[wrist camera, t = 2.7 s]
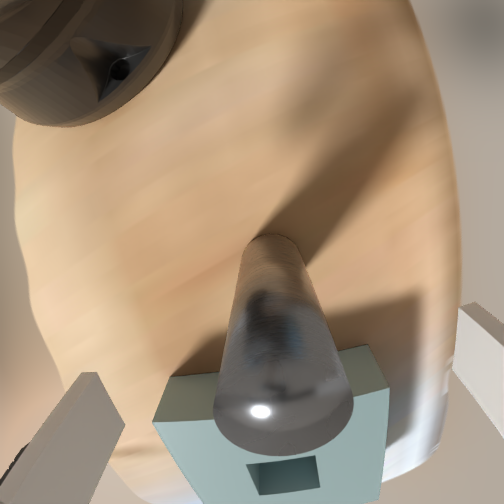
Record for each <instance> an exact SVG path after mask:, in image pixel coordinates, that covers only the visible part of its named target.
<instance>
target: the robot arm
mask: <svg viewBox="0 0 504 504" xmlns="http://www.w3.org/2000/svg"><path fill="white" fill-rule="evenodd" d="M182 12H183V0H0V104H1V105H2V106H4V107H5V108H7V109H8V110H10V111H11V112H12V113H14V114H15V115H17V116H18V117H19V118H21V119H23V120H25V121H27V122H30V123H33V124H37V125H42V126H52V127H75V126H81V125H84V124H88V123H91V122H94V121H96V120H99V119H101V118H103V117H105V116H107V115H109V114H110V113H112V112H114V111H115V110H117V109H118V108H120V107H122V106H123V105H124V104H126V103H127V102H128V101H129V100H131V99H132V98H133V97H134V96H135V95H136V94H137V93H139V92H140V91H141V90H142V89H143V88H144V87H145V86H146V85H147V84H148V82H149V81H150V80H151V79H152V78H153V77H154V75H155V74H156V73H157V71H158V70H159V69H160V67H161V66H162V64H163V63H164V61H165V60H166V58H167V56H168V55H169V53H170V51H171V49H172V47H173V45H174V43H175V40H176V38H177V35H178V32H179V29H180V25H181V20H182ZM452 370H453V371H454V373H455V374H456V375H457V376H458V378H459V379H460V380H461V381H462V383H463V384H464V385H465V387H467V389H468V391H469V392H470V393H471V394H472V396H473V397H474V398H475V400H476V401H477V402H478V403H479V405H480V406H481V408H482V409H483V410H484V412H485V413H486V415H487V416H488V417H489V418H490V420H491V421H492V423H493V424H494V426H495V427H496V428H497V430H498V431H499V433H500V434H501V435H502V437H503V438H504V324H503V323H502V322H500V321H499V320H497V318H495V317H494V316H493V315H492V314H490V313H489V312H488V311H486V310H485V309H484V308H482V307H481V306H480V305H479V304H477V303H476V302H473V303H471V304H467V305H464V306H461V307H459V310H458V323H457V335H456V344H455V353H454V360H453V368H452ZM124 427H125V423H124V422H123V420H122V418H121V416H120V415H119V413H118V411H117V409H116V408H115V406H114V404H113V402H112V400H111V399H110V397H109V395H108V393H107V391H106V389H105V387H104V385H103V383H102V382H101V380H100V378H99V376H98V374H97V372H86V373H81V374H80V375H79V377H78V378H77V379H76V381H75V382H74V383H73V384H72V386H71V387H70V388H69V390H68V391H67V392H66V394H65V395H64V396H63V398H62V399H61V400H60V402H59V403H58V404H57V406H56V407H55V409H54V410H53V411H52V412H51V414H50V415H49V417H48V418H47V419H46V421H45V422H44V423H43V425H42V426H41V428H40V429H39V430H38V432H37V433H36V434H35V436H34V437H33V439H32V440H31V442H29V443H28V444H27V445H26V446H25V447H24V448H22V449H21V450H20V452H19V453H18V454H17V456H16V457H15V459H14V462H12V463H11V464H10V466H9V470H8V469H7V471H6V472H5V473H4V475H3V476H2V478H1V479H0V504H89V503H90V501H91V498H92V496H93V494H94V491H95V489H96V487H97V485H98V482H99V480H100V478H101V476H102V474H103V471H104V469H105V467H106V465H107V463H108V461H109V459H110V456H111V454H112V452H113V450H114V448H115V446H116V444H117V441H118V439H119V437H120V435H121V433H122V431H123V429H124Z"/></svg>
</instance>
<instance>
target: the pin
mask: <svg viewBox="0 0 504 504" xmlns="http://www.w3.org/2000/svg"><path fill="white" fill-rule="evenodd" d="M353 408H354V399H353V394H352V391H351V388H350V385H349V382H348V379H347V377H346V374H345V371H344V368H343V365H342V362H341V360H340V357H339V354H338V351H337V349H336V346H335V343H334V340H333V338H332V335H331V332H330V330H329V327H328V324H327V322H326V319H325V316H324V314H323V311H322V308H321V306H320V303H319V300H318V298H317V295H316V293H315V290H314V287H313V285H312V282H311V280H310V277H309V275H308V272H307V270H306V267H305V265H304V262H303V259H302V257H301V254H300V252H299V250H298V248H297V246H296V245H295V244H294V243H293V242H292V241H291V240H290V239H288V238H286V237H285V236H282V235H278V234H265V235H262V236H259V237H257V238H255V239H254V240H252V241H251V242H250V243H249V244H248V245H247V247H246V248H245V250H244V252H243V255H242V260H241V265H240V270H239V275H238V280H237V285H236V290H235V295H234V300H233V306H232V311H231V316H230V321H229V326H228V331H227V336H226V342H225V347H224V352H223V357H222V362H221V368H220V373H219V378H218V383H217V389H216V394H215V399H214V405H213V416H214V420H215V423H216V425H217V427H218V429H219V431H220V432H221V433H222V434H223V436H224V437H225V438H227V439H228V440H229V441H230V442H231V443H233V444H234V445H236V446H238V447H240V448H242V449H244V450H246V451H249V452H252V453H256V454H260V455H266V456H291V455H297V454H302V453H306V452H309V451H312V450H314V449H317V448H319V447H321V446H323V445H325V444H327V443H328V442H330V441H331V440H333V439H334V438H335V437H336V436H337V435H338V434H339V433H341V432H342V430H343V429H344V428H345V427H346V425H347V424H348V422H349V420H350V418H351V416H352V413H353Z"/></svg>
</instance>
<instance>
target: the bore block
mask: <svg viewBox="0 0 504 504" xmlns="http://www.w3.org/2000/svg"><path fill="white" fill-rule="evenodd" d="M338 354H339V357H340V360H341V362H342V365H343V368H344V371H345V374H346V377H347V379H348V382H349V385H350V388H351V391H352V394H353V399H354V408H353V413H352V416H351V418H350V420H349V422H348V424H347V425H346V427H345V428H344V429H343V430H342V432H341V433H339V434H338V435H337V436H336V437H335V438H334V439H333V440H331V441H330V442H328V443H327V444H325V445H323V446H321V447H319V448H317V449H314V450H312V451H309V452H306V453H302V454H297V455H291V456H266V455H260V454H256V453H252V452H249V451H246V450H244V449H242V448H240V447H238V446H236V445H234V444H233V443H231V442H230V441H229V440H228V439H227V438H225V437H224V436H223V434H222V433H221V432H220V431H219V429H218V427H217V425H216V423H215V420H214V416H213V405H214V399H215V394H216V389H217V383H218V378H219V373H220V372H214V373H205V374H196V375H186V376H176V377H170V378H169V380H168V383H167V385H166V388H165V390H164V393H163V395H162V398H161V400H160V403H159V405H158V408H157V411H156V413H155V416H154V418H153V421H152V423H153V425H154V427H155V429H156V430H157V432H158V434H159V436H160V437H161V439H162V441H163V443H164V444H165V446H166V448H167V449H168V451H169V453H170V454H171V456H172V457H173V459H174V461H175V462H176V464H177V465H178V467H179V469H180V470H181V472H182V473H183V475H184V476H185V478H186V479H187V481H188V482H189V484H190V485H191V487H192V488H193V490H194V491H195V492H196V494H197V495H198V497H199V498H200V500H201V501H202V502H203V504H364V503H367V502H372V501H375V500H378V499H379V494H380V487H381V481H382V473H383V466H384V457H385V448H386V438H387V426H388V412H389V394H390V387H389V385H388V383H387V381H386V379H385V377H384V375H383V373H382V371H381V369H380V367H379V365H378V363H377V361H376V359H375V357H374V356H373V354H372V352H371V350H370V348H369V346H368V344H367V345H363V346H359V347H354V348H350V349H346V350H342V351H338Z"/></svg>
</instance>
